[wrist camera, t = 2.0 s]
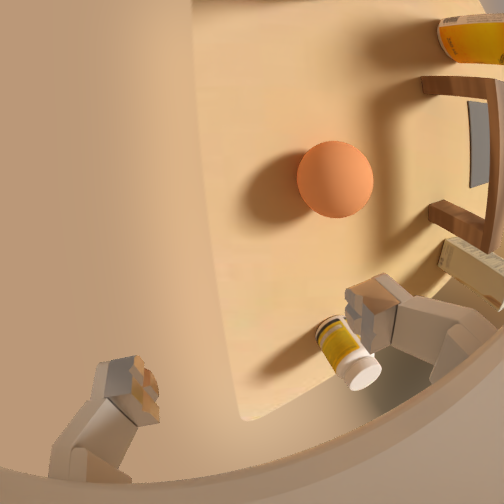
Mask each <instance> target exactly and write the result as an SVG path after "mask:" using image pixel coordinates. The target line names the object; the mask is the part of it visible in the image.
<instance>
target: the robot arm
mask: <svg viewBox="0 0 504 504" xmlns="http://www.w3.org/2000/svg"><path fill="white" fill-rule="evenodd" d="M345 299H346V300H347V302H348V305H347V306H346V308H345V317H346V320H347V323H348V325H349V327H350V329H351V330H352V332H353V333H354V334H357V335H360V336H361V339H360V342H361V344H362V345H363V346H364V347H365V349H366V350H367V351H368V353H369V354H370V355H371V354H373V353H375V352H377V351H379V350H381V349H383V348H385V347H387V346H389V345H391V346H392V347H395V348H397V349H399V350H401V351H403V352H406V353H408V354H410V355H412V356H415V357H417V358H419V359H421V360H424V361H426V362H428V363H431V364H433V365H434V368H433V370H432V372H431V375H430V378H429V380H430V382H431V383H432V385H431V386H429V387H428V388H426V389H425V390H423V391H422V392H420V393H419V394H417V395H415V396H414V397H412V398H411V399H409V400H408V401H406V402H404V403H403V404H401V405H399V406H398V407H396V408H394V409H392V410H391V411H389V412H387V413H385V414H384V415H382V416H380V417H378V418H376V419H374V420H373V421H370V422H368V423H367V424H364V425H362V426H360V427H358V428H356V429H354V430H352V431H350V432H348V433H346V434H344V435H341V436H339V437H337V438H334V439H332V440H330V441H327V442H325V443H322V444H320V445H318V446H315V447H312V448H309V449H307V450H304V451H301V452H298V453H295V454H293V455H290V456H287V457H283V458H281V459H277V460H274V461H271V462H267V463H264V464H261V465H256V466H252V467H249V468H244V469H241V470H236V471H231V472H227V473H222V474H217V475H211V476H205V477H199V478H192V479H185V480H176V481H167V482H154V483H132V478H131V477H130V476H129V475H127V474H125V473H124V472H122V471H120V470H118V468H119V466H120V464H121V462H122V460H123V458H124V456H125V454H126V452H127V449H128V448H129V446H130V443H131V442H132V440H133V437H134V435H135V433H136V431H137V429H138V427H140V426H146V425H152V424H157V423H160V418H159V406H158V405H157V404H156V403H155V401H156V400H157V398H158V397H159V389H158V385H157V381H156V379H155V377H154V375H153V374H152V372H151V371H150V370H147V369H145V368H144V361H143V360H142V359H141V357H140V356H137V355H135V356H130V357H125V358H120V359H115V360H111V361H106V362H101V363H99V364H98V365H97V368H96V373H95V377H94V383H93V387H92V393H91V398H90V400H89V401H86V402H85V404H84V405H83V406H82V407H81V409H80V410H79V411H78V413H77V414H76V415H75V416H74V418H73V419H72V420H71V422H70V423H69V424H68V425H67V427H66V428H65V430H64V431H63V432H62V434H61V435H60V436H59V437H58V439H57V440H56V441H55V443H54V444H53V445H52V450H51V456H50V464H49V473H48V478H47V477H41V476H36V475H31V474H27V473H22V472H18V471H14V470H9V469H6V468H3V467H0V504H504V325H503V326H502V327H501V328H500V329H499V330H498V329H497V328H495V327H494V326H493V325H492V324H491V323H490V322H489V321H488V320H487V319H485V318H484V317H483V316H482V315H481V314H480V313H478V312H477V311H476V310H475V309H472V308H467V307H463V306H459V305H455V304H450V303H447V302H442V301H438V300H434V299H430V298H426V297H422V296H418V295H416V296H414V297H413V296H412V295H411V294H410V293H408V292H407V291H406V290H405V289H404V288H403V287H402V286H400V285H399V284H398V283H397V282H396V281H395V280H393V279H392V278H391V277H390V276H389V275H387V274H386V273H382V274H379V275H377V276H375V277H373V278H371V279H368V280H366V281H364V282H361V283H359V284H357V285H354V286H352V287H349V288H347V289H346V291H345Z"/></svg>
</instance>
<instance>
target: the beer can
mask: <svg viewBox="0 0 504 504" xmlns="http://www.w3.org/2000/svg"><path fill="white" fill-rule="evenodd" d="M437 36H438V40H439V42H440V45H441V47H442V48H443V50H444V52H445V53H446V54H447V55H448V56H449V57H450V58H452V59H453V60H455V61H456V62H458V63H479V64H497V65H504V13H502V14H501V13H500V14H479V15H467V16H458V17H451V18H444V19H442V20H441V21H440V23H439V25H438V27H437Z"/></svg>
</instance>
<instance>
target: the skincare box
mask: <svg viewBox="0 0 504 504" xmlns="http://www.w3.org/2000/svg"><path fill="white" fill-rule="evenodd" d="M438 267H439V268H441V269H442V270H444V271H445V272H446V273H448V274H449V275H451V276H452V277H454V278H455V279H456V280H458V281H459V282H460V283H462V284H463V285H465V286H466V287H467V288H468V289H470V290H471V291H472V292H474V293H475V294H476V295H478V296H479V297H480V298H481V299H483V300H484V301H485V302H487V303H488V304H489V305H490V306H492V307H493V308H494V309H495V310H496V311H498V312H499V311H500V310H502V309H503V308H504V259H503V258H501V257H499V256H498V255H496V254H495V253H493V252H491V253H490V254H489V255H487V254H486V253H484V252H482V251H481V250H479V249H478V248H476V247H474V246H473V245H471V244H470V243H468V242H466V241H465V240H463V239H461V238H460V237H455V238H449V239H445V242H444V245H443V249H442V252H441V256H440V260H439V263H438Z"/></svg>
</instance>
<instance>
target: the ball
mask: <svg viewBox="0 0 504 504" xmlns="http://www.w3.org/2000/svg"><path fill="white" fill-rule="evenodd" d="M297 185H298V189H299V192H300V195H301V197H302V198H303V200H304V201H305V203H306V204H307V205H308V206H309V207H310V208H311V209H312V210H314V211H315V212H317V213H319V214H320V215H323V216H326V217H330V218H343V217H347V216H350V215H353V214H354V213H356V212H358V211H359V210H360V209H361V208H363V207H364V205H365V204H366V203H367V201H368V200H369V198H370V196H371V193H372V189H373V173H372V169H371V166H370V164H369V162H368V160H367V159H366V157H365V156H364V155H363V154H362V153H361V152H360V151H359V150H358V149H357V148H355V147H353V146H352V145H350V144H347V143H344V142H339V141H328V142H324V143H320V144H318V145H316V146H314V147H313V148H311V149H310V150H309V151H308V152H307V153H306V154H305V155H304V157H303V158H302V160H301V162H300V164H299V167H298V171H297Z"/></svg>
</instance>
